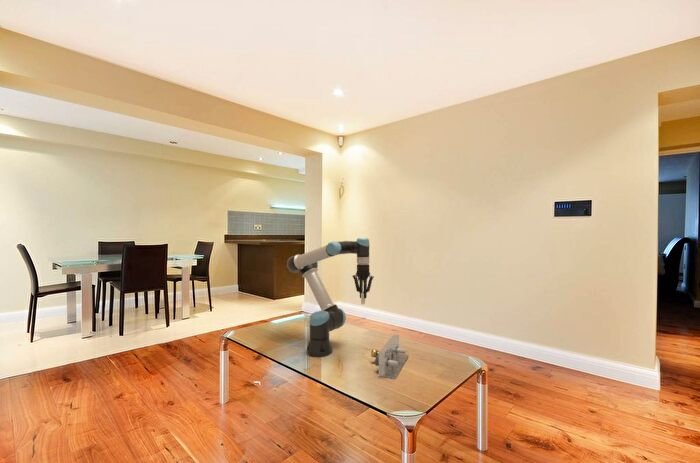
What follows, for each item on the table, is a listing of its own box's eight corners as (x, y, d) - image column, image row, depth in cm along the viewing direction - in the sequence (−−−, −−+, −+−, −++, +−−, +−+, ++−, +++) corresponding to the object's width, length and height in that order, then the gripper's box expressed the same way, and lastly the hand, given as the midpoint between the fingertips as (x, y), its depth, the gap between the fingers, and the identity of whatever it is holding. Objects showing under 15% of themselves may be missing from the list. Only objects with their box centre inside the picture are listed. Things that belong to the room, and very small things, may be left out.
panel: (378, 376, 157) (378, 352, 157) (394, 354, 185) (394, 334, 185) (395, 379, 154) (395, 354, 154) (408, 356, 181) (408, 336, 181)
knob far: (385, 354, 178) (385, 345, 178) (387, 351, 183) (387, 343, 183) (404, 357, 174) (404, 348, 174) (406, 354, 178) (406, 345, 178)
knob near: (375, 367, 161) (375, 357, 161) (378, 363, 166) (378, 354, 166) (396, 370, 157) (396, 360, 157) (398, 366, 162) (398, 357, 162)
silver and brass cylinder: (370, 357, 172) (370, 350, 172) (372, 355, 176) (372, 348, 176) (389, 360, 168) (389, 353, 168) (391, 358, 172) (391, 350, 172)
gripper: (350, 264, 186) (350, 304, 186) (371, 265, 181) (371, 306, 181) (355, 263, 193) (355, 301, 193) (375, 263, 188) (375, 303, 188)
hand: (363, 303), depth 187 cm, fingers closed
